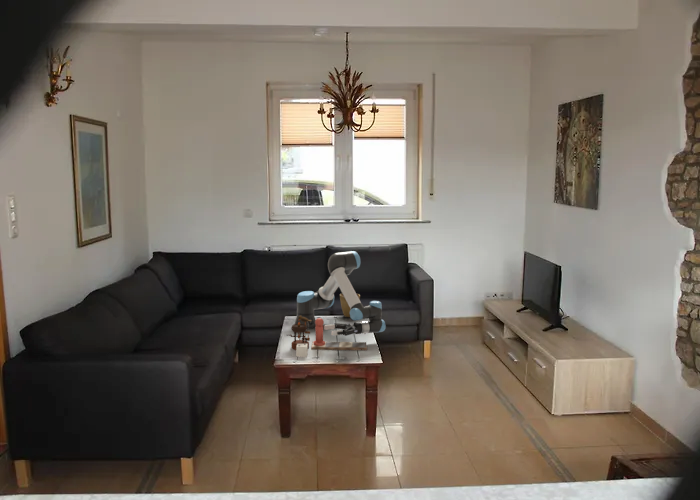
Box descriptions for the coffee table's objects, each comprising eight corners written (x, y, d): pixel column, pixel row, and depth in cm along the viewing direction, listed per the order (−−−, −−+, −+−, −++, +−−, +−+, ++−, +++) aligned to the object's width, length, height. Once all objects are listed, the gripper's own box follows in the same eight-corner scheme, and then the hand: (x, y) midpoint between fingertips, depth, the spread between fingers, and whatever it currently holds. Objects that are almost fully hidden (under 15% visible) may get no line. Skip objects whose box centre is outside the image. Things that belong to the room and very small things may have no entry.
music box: (311, 344, 362) (311, 313, 357) (311, 351, 351) (312, 319, 347) (286, 345, 360) (286, 313, 356) (285, 352, 350) (285, 319, 345)
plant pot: (353, 319, 424) (354, 297, 422) (335, 316, 431) (336, 295, 429) (363, 315, 437) (363, 294, 435) (345, 312, 444) (345, 291, 442)
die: (296, 356, 338) (296, 346, 337) (297, 353, 344) (297, 343, 343) (306, 356, 338) (306, 346, 337) (307, 353, 344) (307, 343, 343)
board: (311, 349, 352) (311, 347, 352) (312, 343, 364) (312, 341, 364) (366, 350, 352) (366, 347, 352) (366, 344, 364) (366, 341, 364)
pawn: (313, 345, 354) (313, 319, 352) (313, 342, 361) (314, 316, 359) (324, 345, 354) (325, 319, 352) (325, 342, 361) (325, 316, 359)
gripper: (368, 338, 354) (334, 342, 347) (353, 328, 377) (321, 331, 370) (368, 326, 353) (334, 329, 346) (353, 316, 376) (321, 319, 369)
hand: (327, 330), depth 358 cm, fingers open, 13 cm apart
